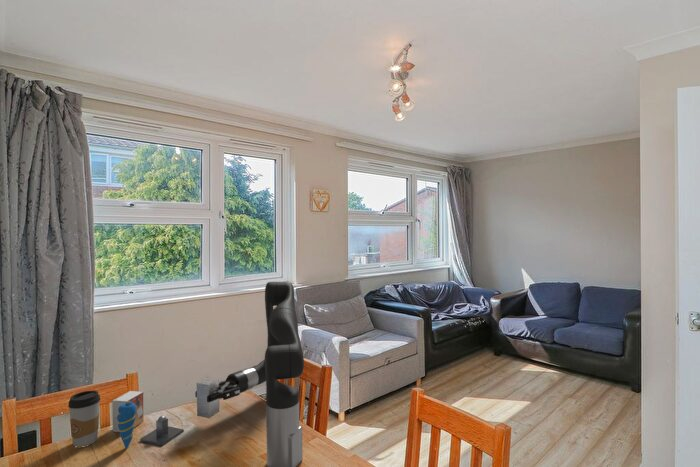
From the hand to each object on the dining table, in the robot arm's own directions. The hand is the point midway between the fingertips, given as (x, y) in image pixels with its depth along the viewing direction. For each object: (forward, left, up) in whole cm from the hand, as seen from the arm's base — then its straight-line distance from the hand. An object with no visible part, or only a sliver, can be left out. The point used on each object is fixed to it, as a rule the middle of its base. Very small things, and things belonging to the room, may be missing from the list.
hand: (201, 396), depth 128 cm
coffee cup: (+29, +18, -11) cm, 37 cm away
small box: (+25, +6, -11) cm, 29 cm away
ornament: (+14, +16, -11) cm, 24 cm away
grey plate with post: (+9, +7, -12) cm, 17 cm away
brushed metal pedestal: (-1, -2, -7) cm, 7 cm away
